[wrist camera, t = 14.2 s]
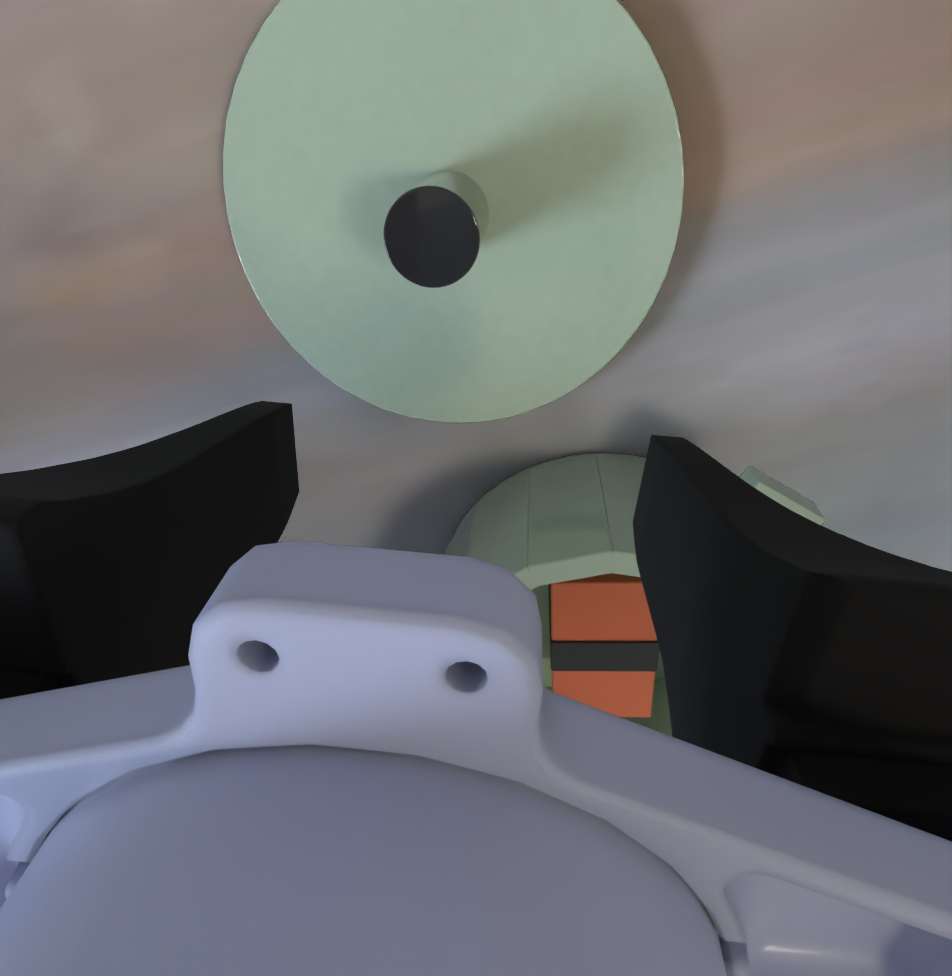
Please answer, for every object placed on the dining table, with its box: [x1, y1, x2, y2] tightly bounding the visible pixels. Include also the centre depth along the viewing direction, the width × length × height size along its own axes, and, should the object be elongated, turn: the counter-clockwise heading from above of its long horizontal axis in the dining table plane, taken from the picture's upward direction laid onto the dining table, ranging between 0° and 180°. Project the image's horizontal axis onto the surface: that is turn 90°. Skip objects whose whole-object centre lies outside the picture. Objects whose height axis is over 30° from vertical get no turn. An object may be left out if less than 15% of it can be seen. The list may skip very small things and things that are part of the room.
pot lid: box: [223, 0, 684, 423], centre depth 19 cm, size 14×14×5 cm
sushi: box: [548, 573, 660, 717], centre depth 26 cm, size 7×4×4 cm, turn 4°
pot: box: [444, 453, 826, 737], centre depth 25 cm, size 13×18×6 cm
